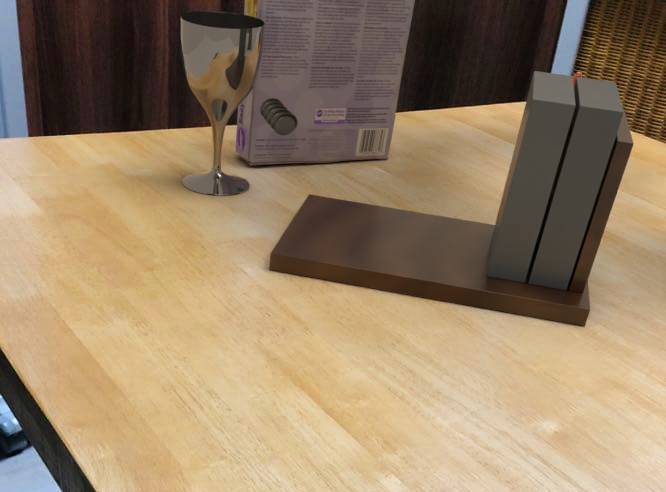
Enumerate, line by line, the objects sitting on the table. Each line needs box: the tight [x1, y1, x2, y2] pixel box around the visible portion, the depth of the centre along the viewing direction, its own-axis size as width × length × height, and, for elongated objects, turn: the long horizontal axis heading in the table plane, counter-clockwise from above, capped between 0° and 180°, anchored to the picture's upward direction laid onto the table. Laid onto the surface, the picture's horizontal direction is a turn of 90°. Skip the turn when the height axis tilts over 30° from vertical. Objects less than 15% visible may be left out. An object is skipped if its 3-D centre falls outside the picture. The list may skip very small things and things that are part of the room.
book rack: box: [269, 110, 634, 327], centre depth 75 cm, size 27×16×14 cm, turn 76°
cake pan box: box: [234, 0, 416, 166], centre depth 94 cm, size 19×5×18 cm, turn 113°
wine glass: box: [179, 10, 265, 196], centre depth 86 cm, size 8×8×15 cm
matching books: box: [487, 70, 625, 290], centre depth 72 cm, size 7×10×14 cm
